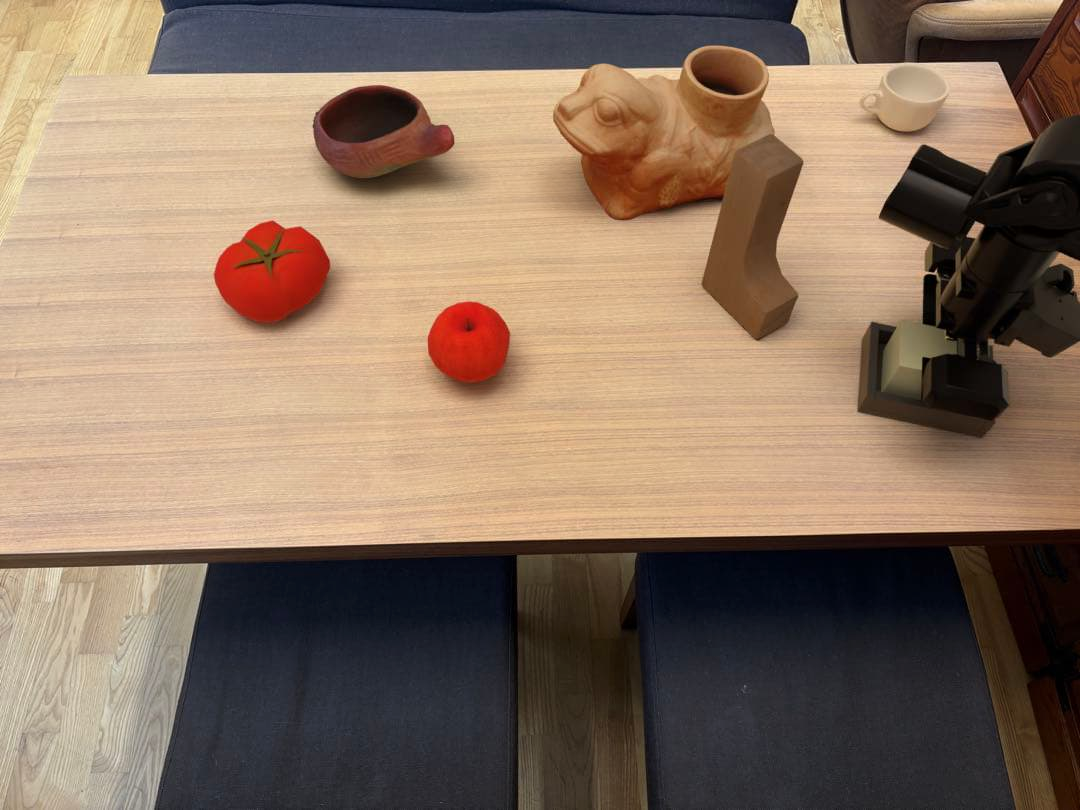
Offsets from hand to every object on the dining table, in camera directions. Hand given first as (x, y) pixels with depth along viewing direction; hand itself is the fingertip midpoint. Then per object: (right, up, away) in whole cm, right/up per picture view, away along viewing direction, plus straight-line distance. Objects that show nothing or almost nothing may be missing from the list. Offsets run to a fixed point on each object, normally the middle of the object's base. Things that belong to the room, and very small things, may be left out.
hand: (927, 376), depth 81 cm
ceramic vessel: (-23, +24, +18) cm, 38 cm away
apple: (-44, +1, +2) cm, 44 cm away
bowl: (-55, +26, +18) cm, 63 cm away
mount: (0, -1, +1) cm, 2 cm away
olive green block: (0, -1, +1) cm, 1 cm away
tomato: (-64, +9, +7) cm, 65 cm away
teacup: (+6, +32, +23) cm, 40 cm away
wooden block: (-16, +8, +7) cm, 19 cm away
